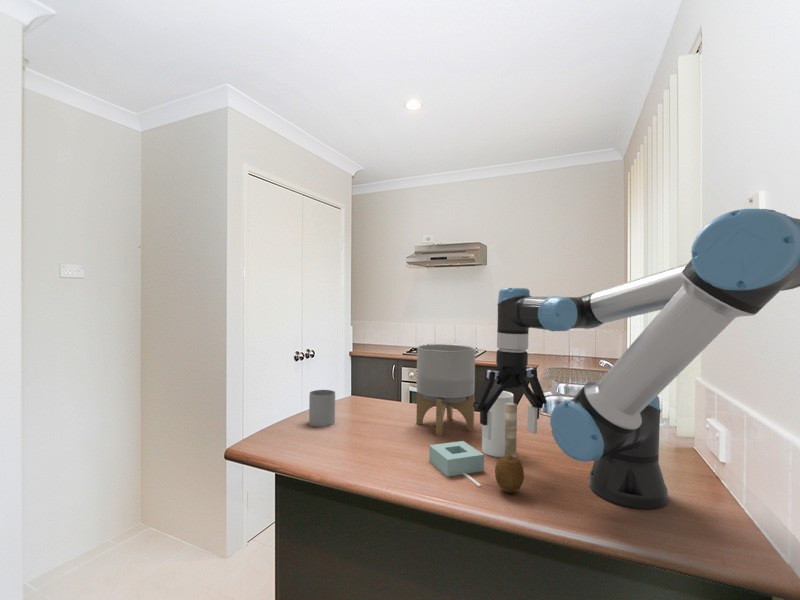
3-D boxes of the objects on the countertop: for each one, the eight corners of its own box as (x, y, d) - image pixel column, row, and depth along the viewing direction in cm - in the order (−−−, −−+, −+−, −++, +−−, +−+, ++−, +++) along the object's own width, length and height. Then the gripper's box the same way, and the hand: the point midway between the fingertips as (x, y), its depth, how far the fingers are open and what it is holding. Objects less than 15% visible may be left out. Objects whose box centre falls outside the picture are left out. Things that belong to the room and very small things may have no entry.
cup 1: (308, 419, 140) (308, 390, 140) (332, 418, 142) (333, 389, 142) (310, 427, 132) (311, 396, 132) (336, 425, 134) (336, 394, 134)
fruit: (488, 491, 91) (489, 454, 90) (504, 482, 95) (504, 447, 95) (514, 501, 86) (515, 463, 86) (529, 491, 90) (529, 455, 90)
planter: (424, 415, 147) (425, 342, 147) (477, 421, 141) (478, 345, 141) (408, 432, 129) (410, 349, 129) (469, 439, 123) (470, 352, 123)
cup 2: (513, 458, 109) (514, 398, 109) (481, 455, 111) (482, 396, 111) (511, 447, 117) (512, 391, 117) (482, 444, 119) (483, 389, 119)
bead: (483, 470, 101) (483, 454, 101) (447, 476, 97) (447, 459, 97) (463, 455, 110) (463, 440, 110) (429, 460, 107) (429, 445, 107)
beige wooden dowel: (518, 470, 102) (519, 405, 102) (508, 471, 101) (509, 406, 101) (511, 465, 104) (512, 402, 104) (501, 467, 103) (503, 403, 103)
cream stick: (481, 486, 93) (481, 485, 93) (478, 487, 92) (478, 485, 92) (465, 473, 99) (465, 472, 99) (462, 474, 99) (462, 472, 99)
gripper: (542, 346, 110) (539, 425, 111) (460, 349, 101) (458, 435, 102) (562, 350, 103) (560, 434, 104) (476, 353, 94) (474, 445, 95)
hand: (509, 435), depth 103 cm, fingers open, 13 cm apart
